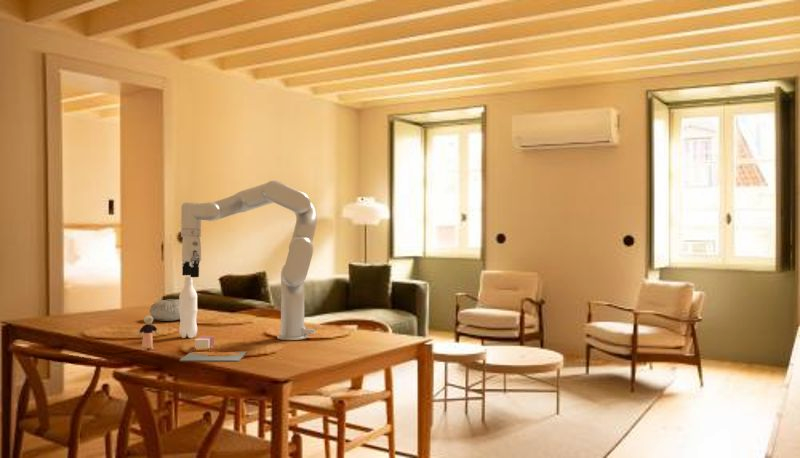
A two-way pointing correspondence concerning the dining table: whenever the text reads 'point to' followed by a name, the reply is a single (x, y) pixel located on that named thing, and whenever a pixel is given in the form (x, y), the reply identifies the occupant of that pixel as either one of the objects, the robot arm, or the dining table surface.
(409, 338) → the dining table surface
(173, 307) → the grey rounded rock
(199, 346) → the card deck
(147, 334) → the grandmother figurine
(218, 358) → the mat
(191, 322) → the water bottle
